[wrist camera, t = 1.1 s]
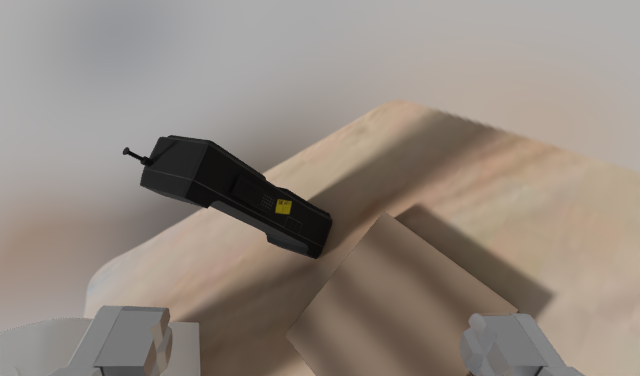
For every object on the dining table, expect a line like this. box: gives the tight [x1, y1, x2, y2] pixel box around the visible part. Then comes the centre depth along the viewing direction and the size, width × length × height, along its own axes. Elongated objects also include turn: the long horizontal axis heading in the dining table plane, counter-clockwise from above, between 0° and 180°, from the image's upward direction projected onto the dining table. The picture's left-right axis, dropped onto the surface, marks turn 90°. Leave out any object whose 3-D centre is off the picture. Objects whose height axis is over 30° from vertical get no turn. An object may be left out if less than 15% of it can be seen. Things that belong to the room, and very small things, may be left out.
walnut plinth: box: [285, 211, 519, 376], centre depth 38 cm, size 18×16×3 cm
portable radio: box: [123, 135, 332, 259], centre depth 38 cm, size 8×6×25 cm
